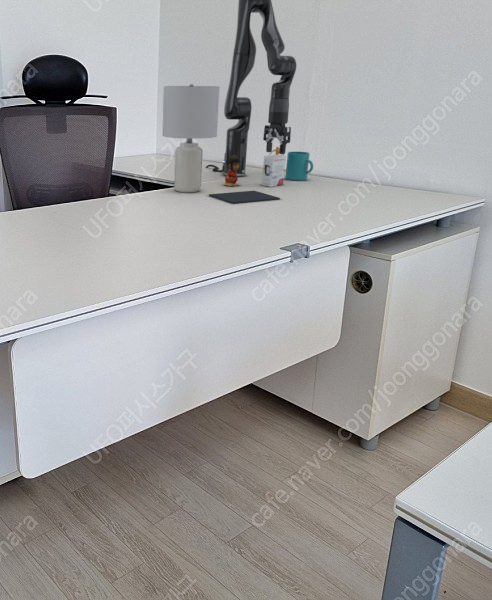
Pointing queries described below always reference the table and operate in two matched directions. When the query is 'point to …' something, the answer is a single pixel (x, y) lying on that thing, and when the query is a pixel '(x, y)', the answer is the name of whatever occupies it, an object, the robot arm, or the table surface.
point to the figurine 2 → (276, 150)
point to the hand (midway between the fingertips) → (275, 153)
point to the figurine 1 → (232, 170)
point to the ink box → (273, 170)
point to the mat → (244, 197)
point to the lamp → (189, 129)
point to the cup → (298, 166)
